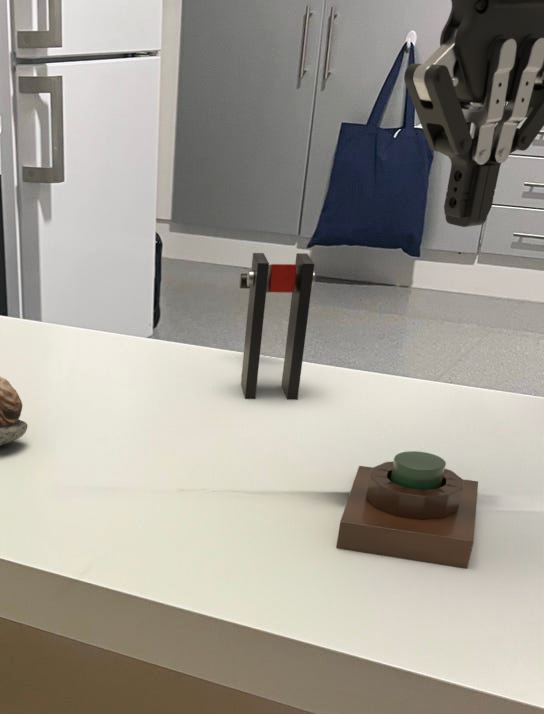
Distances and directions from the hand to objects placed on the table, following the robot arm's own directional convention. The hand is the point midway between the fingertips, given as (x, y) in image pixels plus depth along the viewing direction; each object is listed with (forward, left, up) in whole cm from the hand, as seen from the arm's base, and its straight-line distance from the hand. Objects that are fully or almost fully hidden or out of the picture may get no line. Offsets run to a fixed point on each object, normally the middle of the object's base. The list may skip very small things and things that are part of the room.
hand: (464, 223), depth 67 cm
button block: (+2, +2, -21) cm, 21 cm away
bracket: (-5, -25, -21) cm, 33 cm away
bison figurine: (+25, -30, -21) cm, 44 cm away
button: (+2, +2, -17) cm, 18 cm away
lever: (-7, -29, -11) cm, 32 cm away
